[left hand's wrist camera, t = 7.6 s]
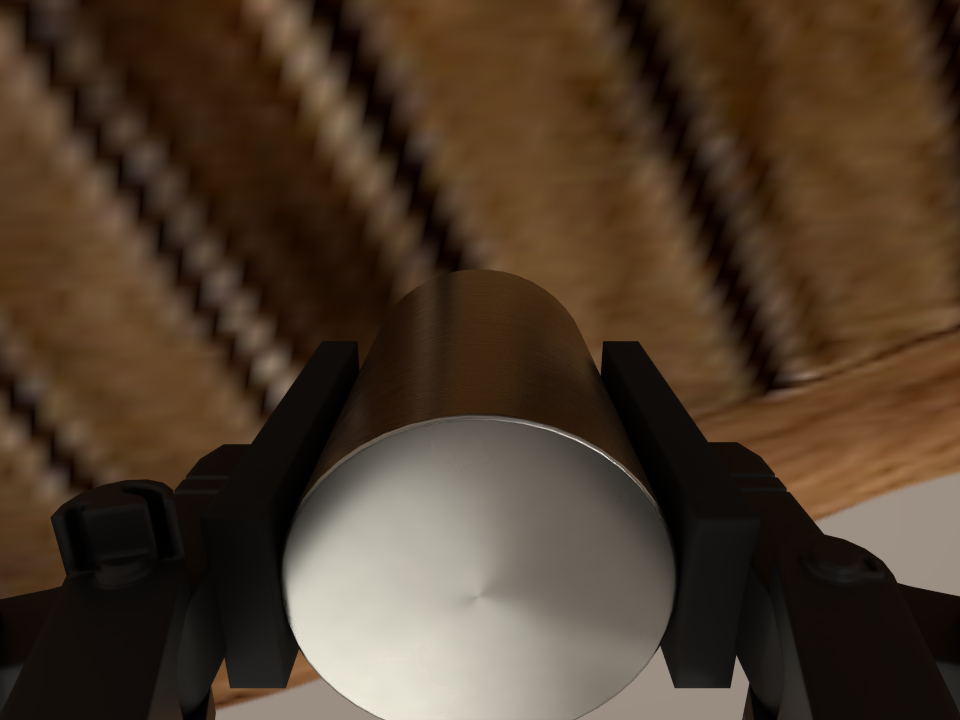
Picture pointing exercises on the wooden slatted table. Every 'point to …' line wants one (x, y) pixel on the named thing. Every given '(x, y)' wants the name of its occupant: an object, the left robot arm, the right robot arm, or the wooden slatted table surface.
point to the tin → (478, 520)
